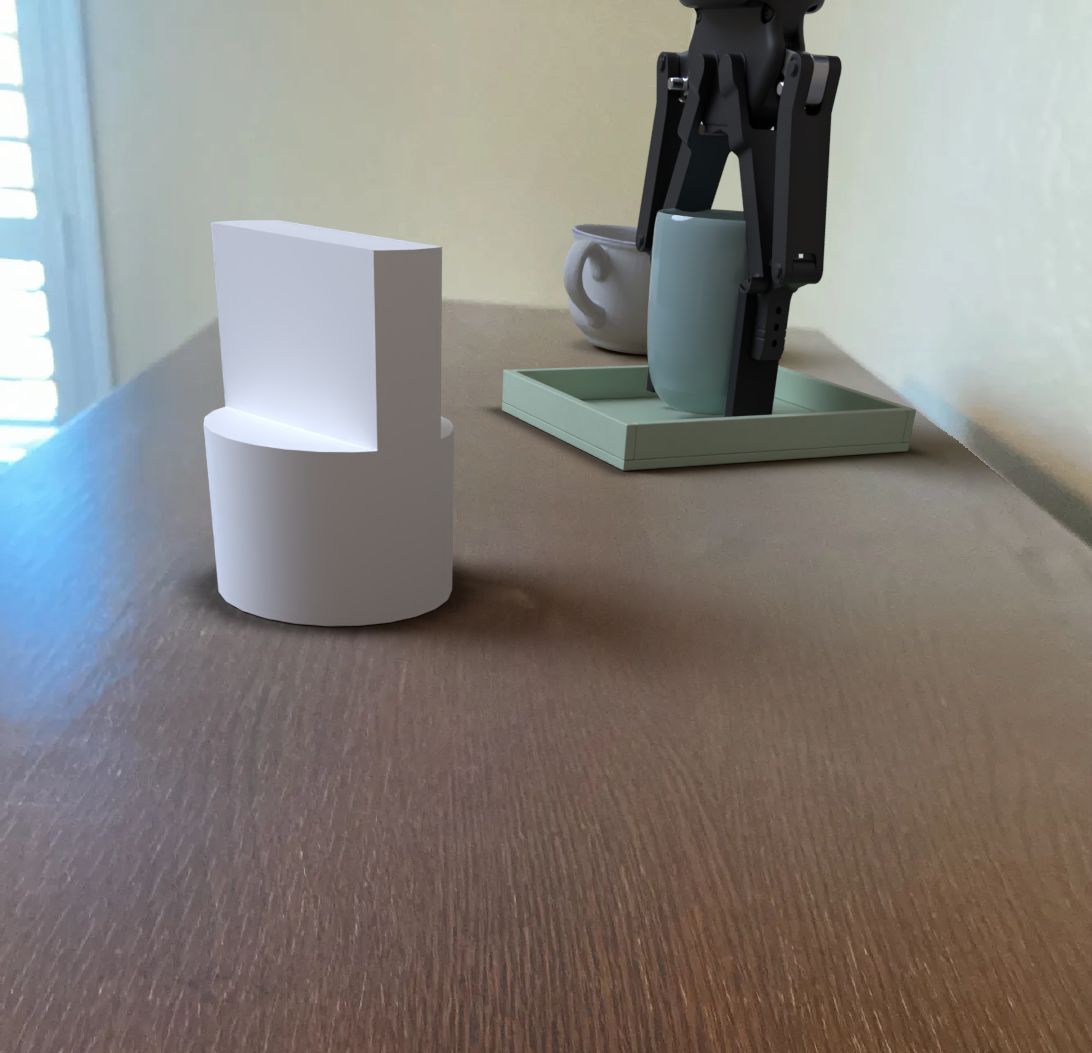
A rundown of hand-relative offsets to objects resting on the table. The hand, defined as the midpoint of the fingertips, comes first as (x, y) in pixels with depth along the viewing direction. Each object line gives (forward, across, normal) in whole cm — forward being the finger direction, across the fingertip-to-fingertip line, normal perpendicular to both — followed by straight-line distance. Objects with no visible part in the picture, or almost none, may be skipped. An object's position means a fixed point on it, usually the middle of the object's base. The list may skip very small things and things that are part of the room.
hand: (706, 404), depth 77 cm
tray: (+1, 0, 0) cm, 1 cm away
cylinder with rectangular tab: (+2, +21, -30) cm, 37 cm away
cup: (0, 0, 0) cm, 0 cm away
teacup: (+2, -26, +9) cm, 28 cm away
